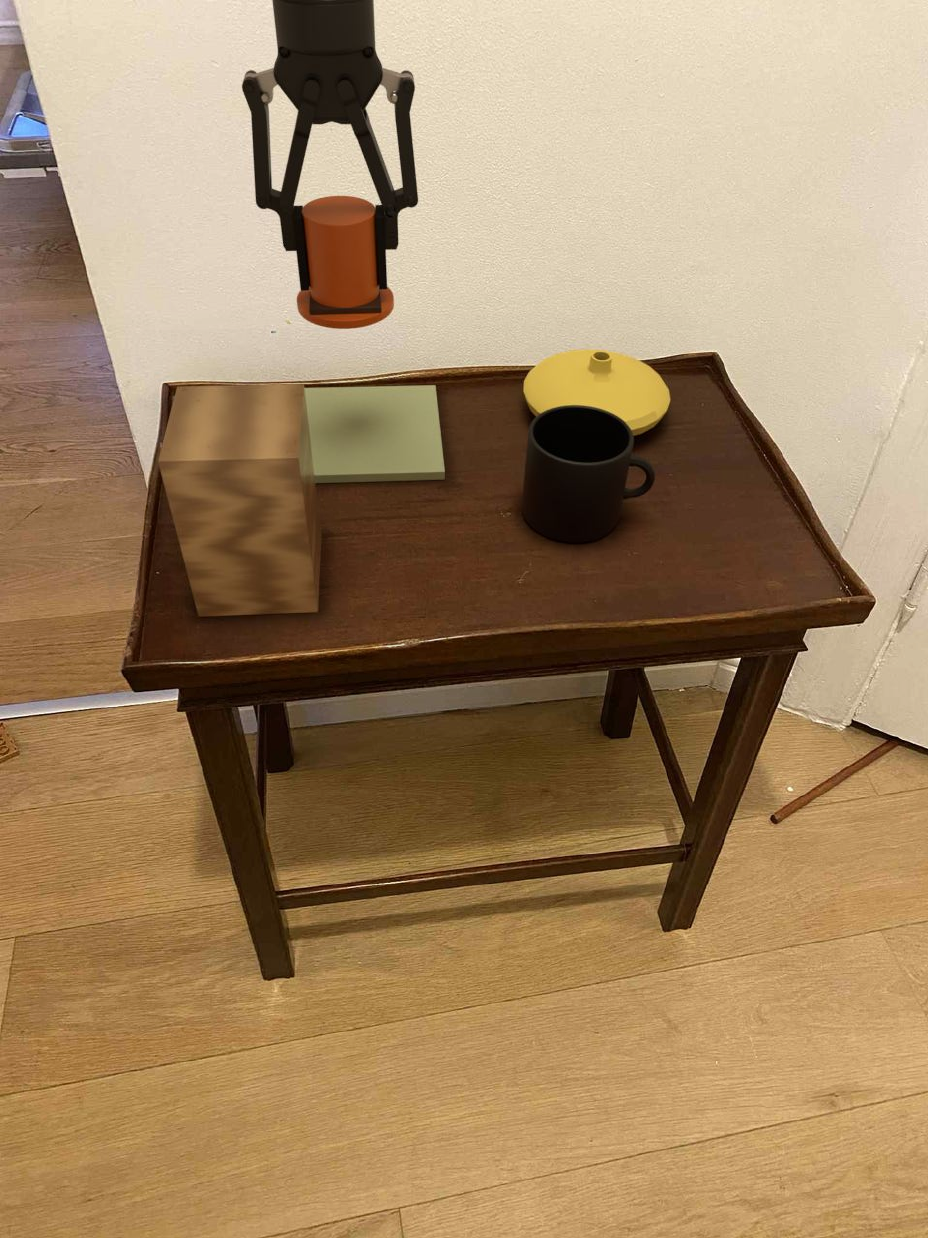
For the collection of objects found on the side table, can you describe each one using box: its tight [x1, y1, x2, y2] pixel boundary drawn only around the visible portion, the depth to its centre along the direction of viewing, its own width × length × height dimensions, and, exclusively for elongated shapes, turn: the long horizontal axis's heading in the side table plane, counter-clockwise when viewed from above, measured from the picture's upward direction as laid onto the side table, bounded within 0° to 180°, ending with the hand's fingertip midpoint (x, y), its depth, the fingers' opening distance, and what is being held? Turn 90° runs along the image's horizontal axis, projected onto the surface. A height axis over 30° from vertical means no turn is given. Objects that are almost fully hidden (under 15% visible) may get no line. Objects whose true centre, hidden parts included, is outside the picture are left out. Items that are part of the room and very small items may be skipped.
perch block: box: [157, 383, 322, 618], centre depth 75 cm, size 10×10×16 cm
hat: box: [296, 195, 395, 330], centre depth 82 cm, size 9×9×9 cm
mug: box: [521, 405, 656, 544], centre depth 85 cm, size 9×12×9 cm
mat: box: [304, 384, 446, 484], centre depth 95 cm, size 18×16×1 cm
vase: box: [522, 348, 671, 437], centre depth 97 cm, size 16×16×7 cm
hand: (344, 282), depth 84 cm, fingers closed on hat, 6 cm apart
